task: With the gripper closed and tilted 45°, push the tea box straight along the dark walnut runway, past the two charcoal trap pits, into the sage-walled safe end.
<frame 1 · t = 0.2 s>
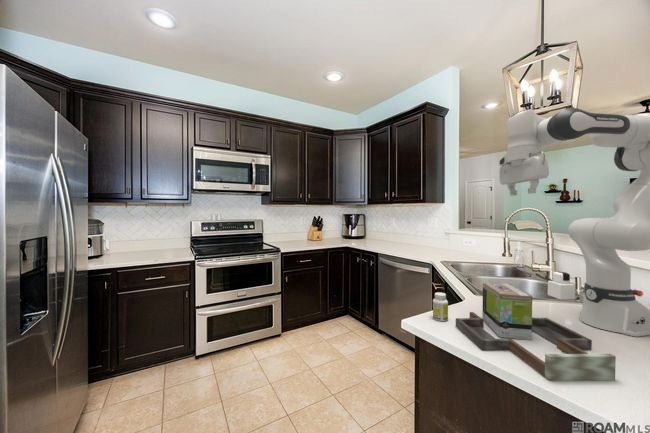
hand: (522, 194, 95), 48 cm above the counter, tool pointing down, fingers open, 8 cm apart
supplement bottle: (440, 319, 103), on the counter
tea box: (504, 329, 94), on the counter
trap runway: (528, 344, 83), on the counter
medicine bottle: (560, 297, 126), on the counter
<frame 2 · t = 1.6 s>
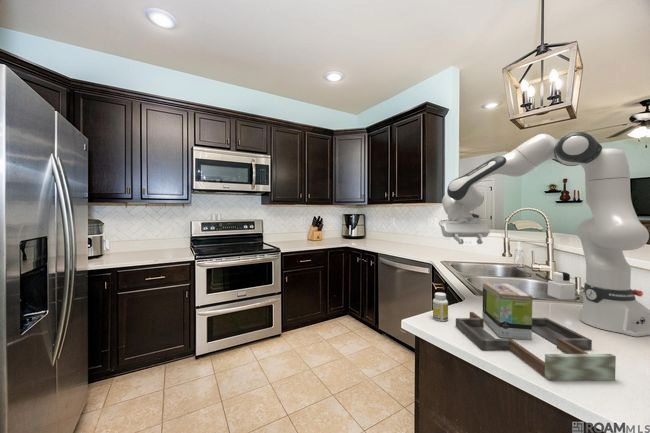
hand: (471, 243, 115), 28 cm above the counter, tool tilted 45°, fingers open, 7 cm apart
nothing on the counter moved.
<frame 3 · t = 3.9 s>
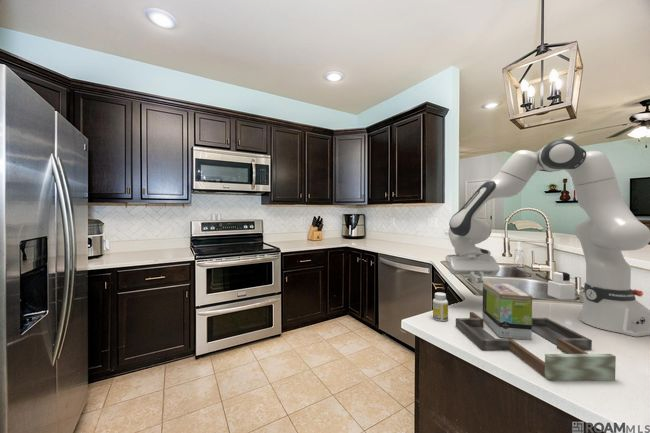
hand: (479, 282, 108), 12 cm above the counter, tool tilted 45°, fingers closed
nothing on the counter moved.
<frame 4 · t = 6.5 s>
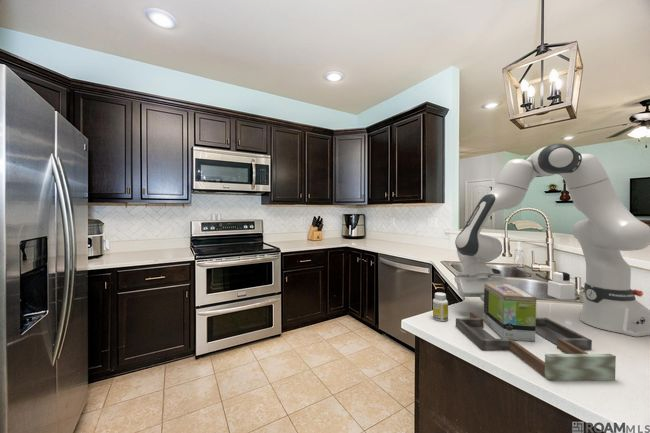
hand: (492, 306, 101), 5 cm above the counter, tool tilted 45°, fingers closed
tea box: (507, 331, 92), on the counter, touching gripper
everything else where it was.
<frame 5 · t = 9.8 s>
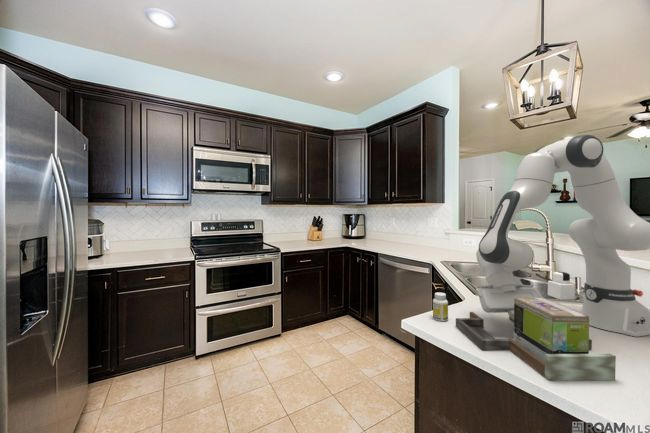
hand: (523, 324, 85), 5 cm above the counter, tool tilted 45°, fingers closed, pressing on tea box
tea box: (547, 356, 77), on the counter, touching gripper
everything else where it was.
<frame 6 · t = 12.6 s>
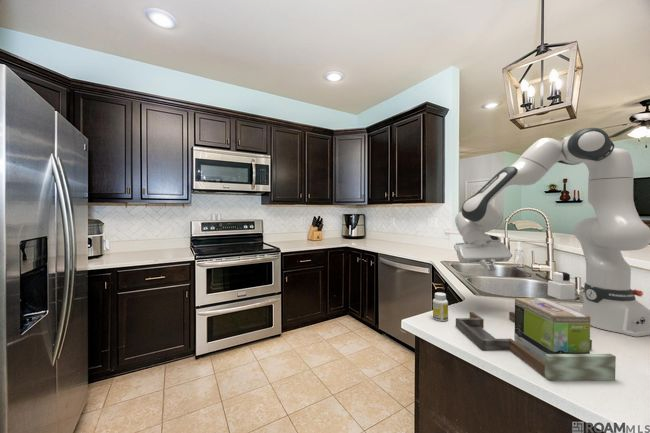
hand: (491, 270, 103), 19 cm above the counter, tool tilted 45°, fingers closed
tea box: (548, 356, 76), on the counter
everything else where it was.
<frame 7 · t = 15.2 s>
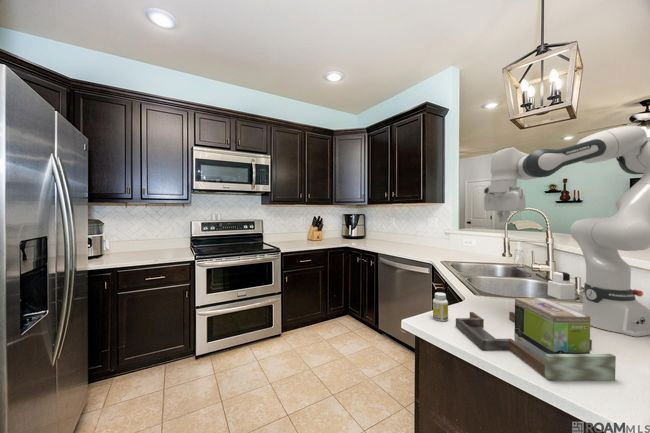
hand: (503, 222, 108), 37 cm above the counter, tool pointing down, fingers closed
nothing on the counter moved.
at the end: tea box inside the target area (2.1 cm from its centre), on the counter; tea box tilted 0° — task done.
